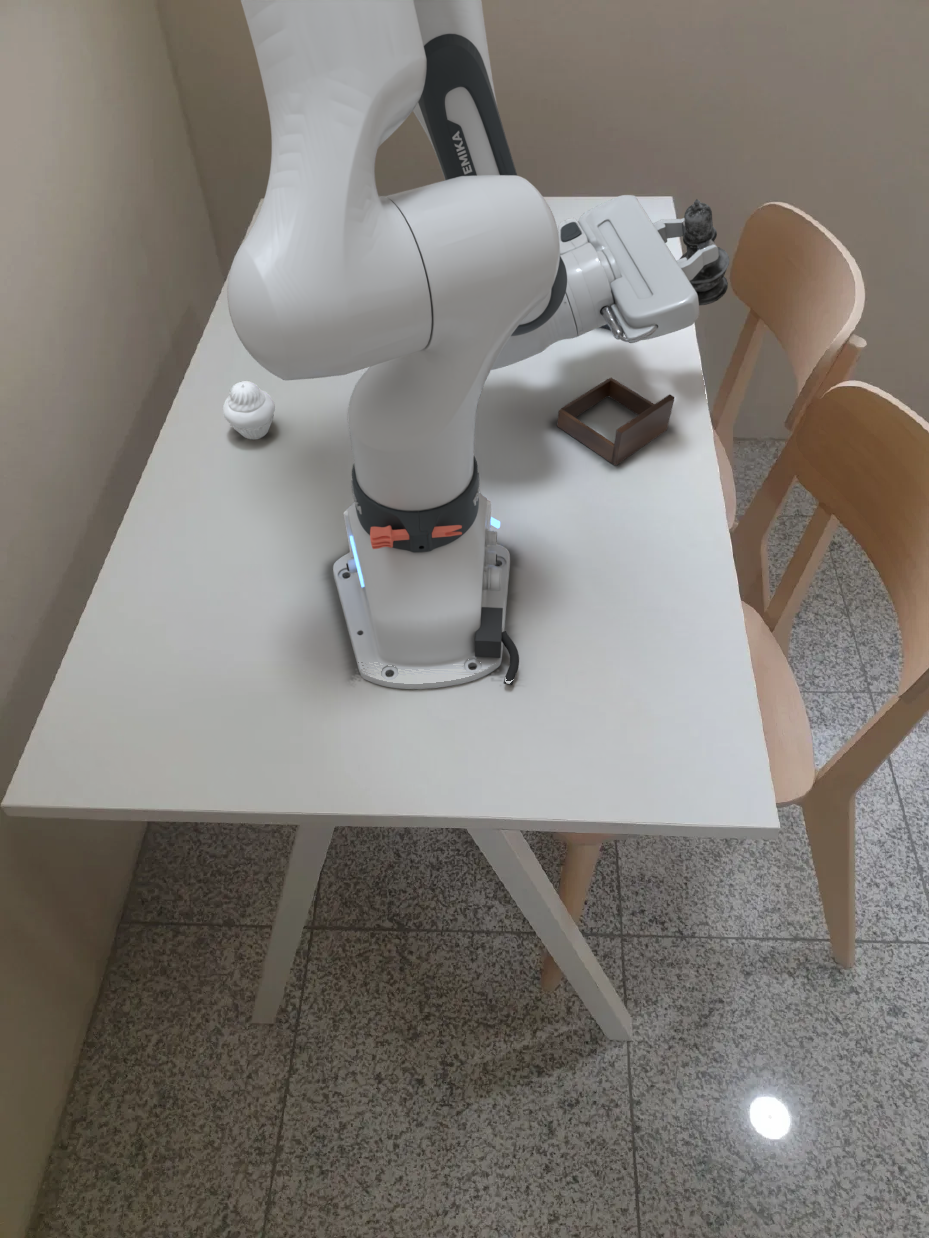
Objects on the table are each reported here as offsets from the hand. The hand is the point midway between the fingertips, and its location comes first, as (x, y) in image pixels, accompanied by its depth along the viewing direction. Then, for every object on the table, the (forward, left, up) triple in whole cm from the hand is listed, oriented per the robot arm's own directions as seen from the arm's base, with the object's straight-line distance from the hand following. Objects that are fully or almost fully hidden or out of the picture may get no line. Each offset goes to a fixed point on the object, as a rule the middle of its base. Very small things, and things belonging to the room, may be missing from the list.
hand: (706, 235), depth 92 cm
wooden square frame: (-8, +10, -20) cm, 23 cm away
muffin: (-4, +53, -20) cm, 57 cm away
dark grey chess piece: (+1, -1, -7) cm, 7 cm away
